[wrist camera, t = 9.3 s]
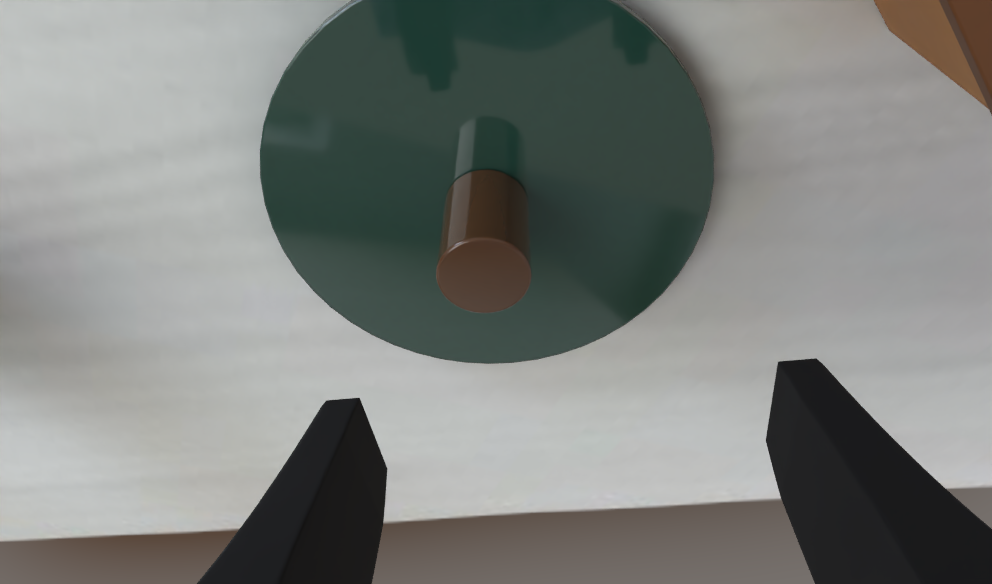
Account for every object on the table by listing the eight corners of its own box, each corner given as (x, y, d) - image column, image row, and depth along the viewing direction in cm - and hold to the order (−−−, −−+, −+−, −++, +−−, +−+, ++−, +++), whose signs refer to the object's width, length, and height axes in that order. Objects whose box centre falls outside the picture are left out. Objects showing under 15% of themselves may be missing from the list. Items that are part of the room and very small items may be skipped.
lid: (721, -82, 16) (779, -30, 13) (695, 325, 24) (726, 426, 21) (198, -8, 17) (121, 58, 14) (338, 357, 25) (311, 457, 22)
